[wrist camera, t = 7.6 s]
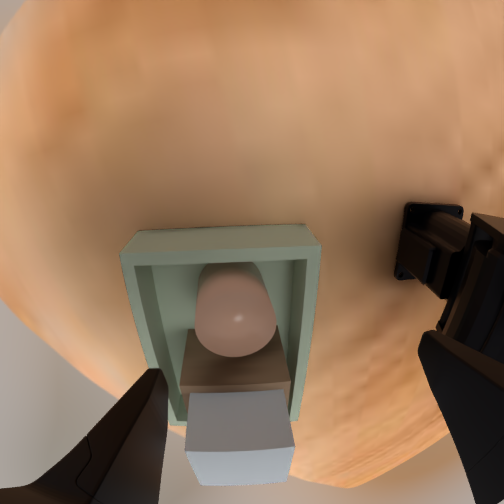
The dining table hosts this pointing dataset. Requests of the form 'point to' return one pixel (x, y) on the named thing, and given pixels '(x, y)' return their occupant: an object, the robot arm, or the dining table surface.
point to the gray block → (239, 438)
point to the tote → (185, 292)
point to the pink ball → (233, 309)
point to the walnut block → (233, 369)
